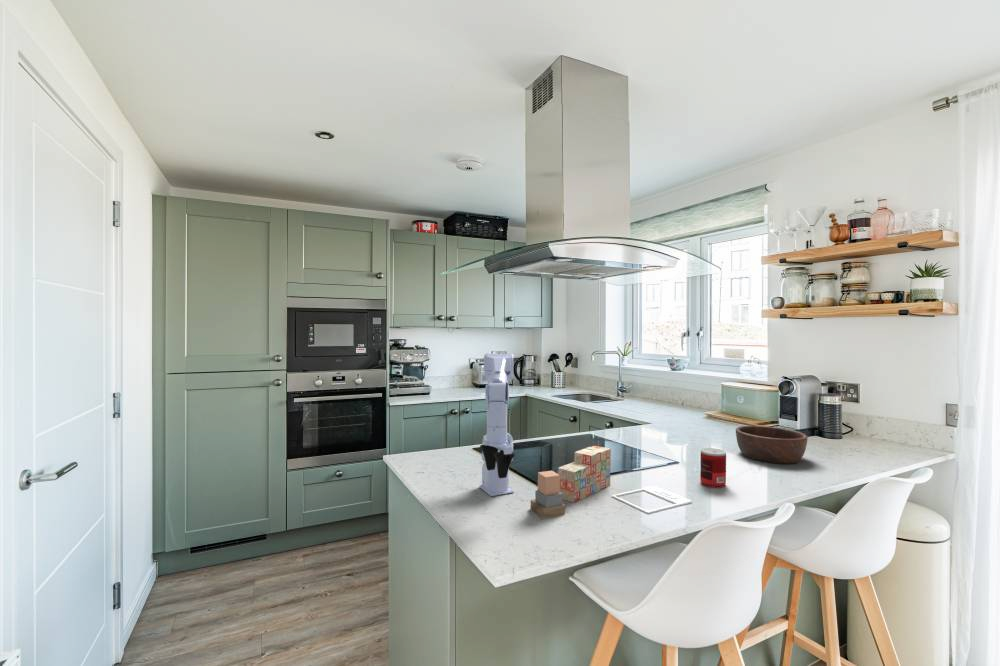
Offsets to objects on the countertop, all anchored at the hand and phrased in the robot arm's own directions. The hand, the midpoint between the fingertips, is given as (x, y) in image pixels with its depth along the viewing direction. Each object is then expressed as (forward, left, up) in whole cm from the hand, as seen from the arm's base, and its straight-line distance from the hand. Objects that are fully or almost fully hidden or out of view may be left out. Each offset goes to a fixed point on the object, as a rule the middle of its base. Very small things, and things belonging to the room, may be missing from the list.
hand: (496, 473), depth 129 cm
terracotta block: (+7, +13, -5) cm, 15 cm away
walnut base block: (+6, +13, -11) cm, 18 cm away
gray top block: (+7, +13, -8) cm, 17 cm away
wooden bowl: (-3, +124, -11) cm, 124 cm away
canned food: (+10, +75, -11) cm, 76 cm away
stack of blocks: (-2, +32, -11) cm, 34 cm away
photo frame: (+12, +46, -11) cm, 49 cm away
